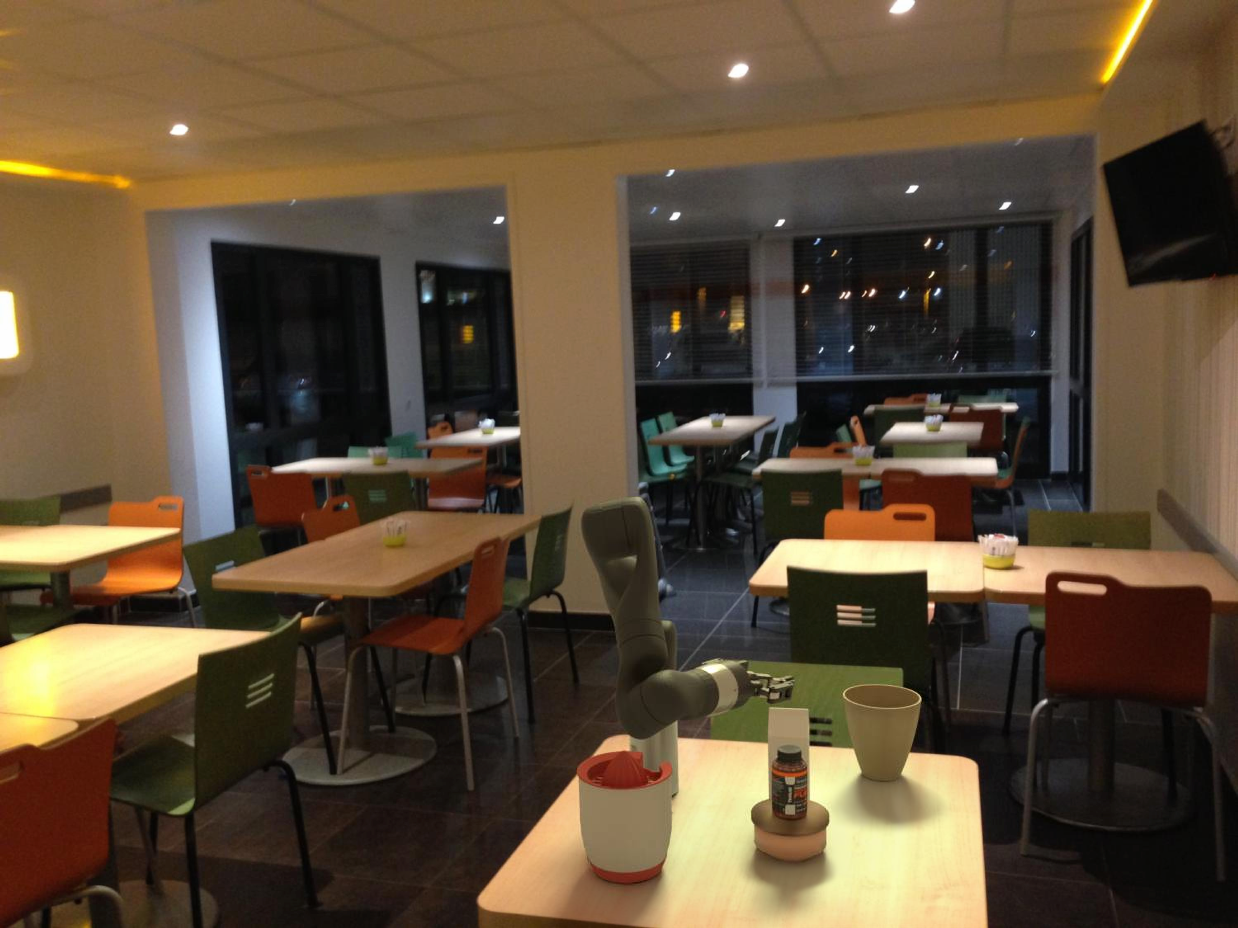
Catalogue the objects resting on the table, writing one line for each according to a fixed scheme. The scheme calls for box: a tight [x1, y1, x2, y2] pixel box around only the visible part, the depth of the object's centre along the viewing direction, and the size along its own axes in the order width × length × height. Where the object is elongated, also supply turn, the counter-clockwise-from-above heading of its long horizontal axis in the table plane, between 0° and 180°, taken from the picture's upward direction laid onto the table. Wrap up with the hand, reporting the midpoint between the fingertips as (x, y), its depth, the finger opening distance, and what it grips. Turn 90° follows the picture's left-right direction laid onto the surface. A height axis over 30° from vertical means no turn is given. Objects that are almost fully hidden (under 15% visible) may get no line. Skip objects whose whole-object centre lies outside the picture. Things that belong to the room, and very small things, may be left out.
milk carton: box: [767, 707, 811, 800], centre depth 196 cm, size 7×7×19 cm
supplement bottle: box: [772, 745, 807, 820], centre depth 179 cm, size 6×6×11 cm
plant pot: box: [842, 683, 922, 782], centre depth 211 cm, size 15×15×16 cm
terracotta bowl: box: [753, 824, 828, 862], centre depth 181 cm, size 12×12×6 cm
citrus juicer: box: [576, 749, 673, 885], centre depth 176 cm, size 16×17×20 cm
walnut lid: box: [750, 798, 830, 836], centre depth 180 cm, size 13×13×1 cm
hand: (768, 674), depth 175 cm, fingers open, 8 cm apart
